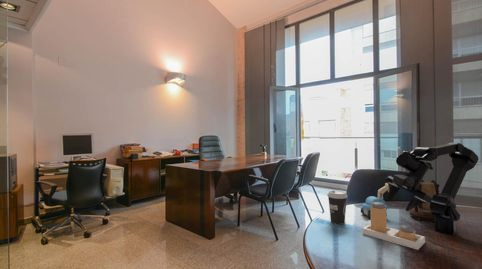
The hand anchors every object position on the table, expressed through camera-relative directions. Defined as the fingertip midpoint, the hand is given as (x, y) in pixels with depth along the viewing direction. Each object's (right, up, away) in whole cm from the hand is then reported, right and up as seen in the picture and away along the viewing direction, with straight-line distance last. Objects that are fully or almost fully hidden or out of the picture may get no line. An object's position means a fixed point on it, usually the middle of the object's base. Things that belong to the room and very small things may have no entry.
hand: (397, 205), depth 108 cm
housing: (-6, -13, -7) cm, 16 cm away
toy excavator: (+5, -13, +23) cm, 27 cm away
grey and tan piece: (-3, -11, -11) cm, 16 cm away
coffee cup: (-20, -13, +16) cm, 29 cm away
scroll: (+27, -12, +19) cm, 35 cm away
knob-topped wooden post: (-10, -11, -3) cm, 15 cm away
